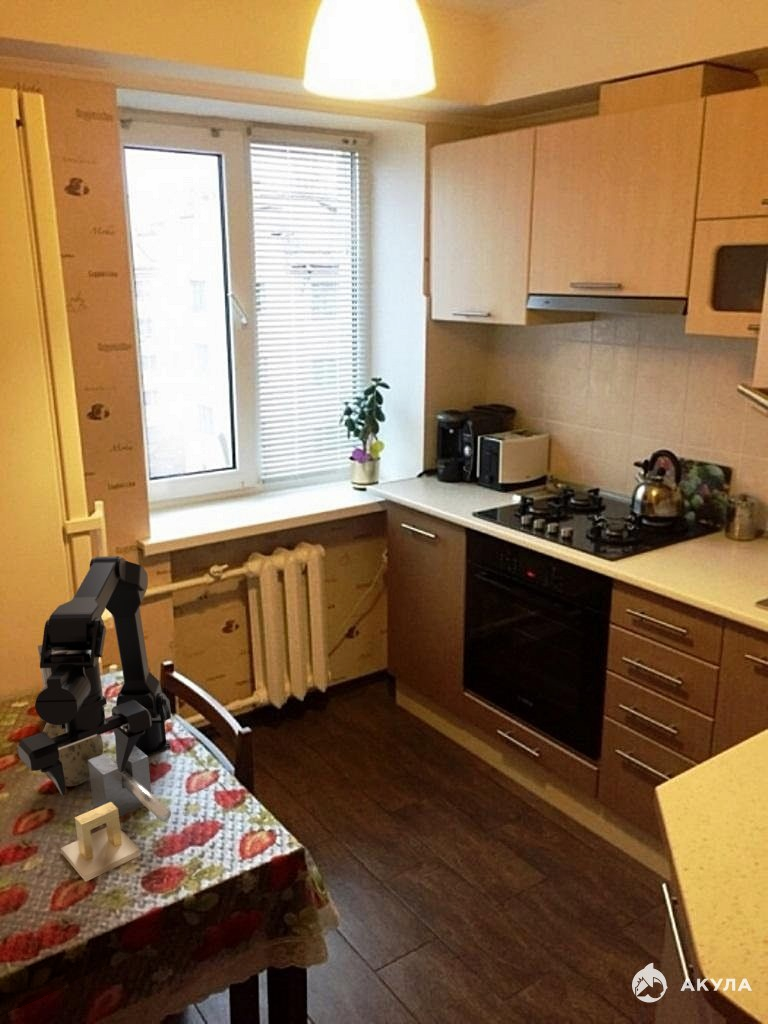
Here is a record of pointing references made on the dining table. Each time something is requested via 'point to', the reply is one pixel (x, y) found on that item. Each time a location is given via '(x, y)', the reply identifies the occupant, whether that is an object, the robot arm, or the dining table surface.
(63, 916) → the dining table surface
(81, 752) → the decorative egg
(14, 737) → the dining table surface
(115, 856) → the birch pad
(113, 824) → the tan u-shaped bracket
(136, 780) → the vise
